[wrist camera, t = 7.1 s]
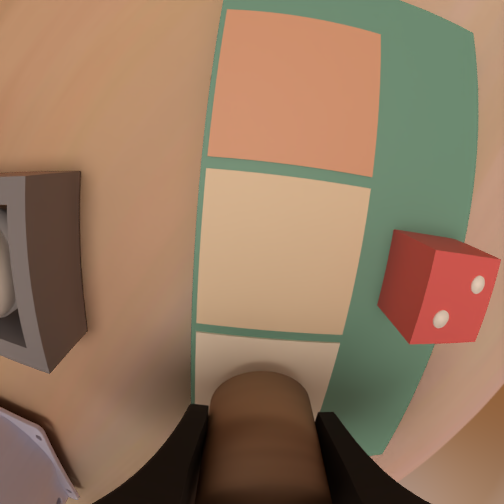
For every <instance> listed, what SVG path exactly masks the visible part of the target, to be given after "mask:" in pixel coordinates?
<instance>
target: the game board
mask: <svg viewBox="0 0 504 504" xmlns="http://www.w3.org/2000/svg"><path fill="white" fill-rule="evenodd" d="M477 140H478V80H477V64H476V53H475V44H474V36H473V33H472V32H470V31H468V30H466V29H464V28H462V27H460V26H458V25H456V24H454V23H452V22H450V21H448V20H446V19H444V18H442V17H439V16H437V15H435V14H433V13H430V12H428V11H426V10H423V9H421V8H418V7H416V6H413V5H411V4H408V3H405V2H403V1H400V0H223V6H222V11H221V17H220V23H219V29H218V35H217V41H216V48H215V54H214V61H213V68H212V75H211V82H210V90H209V98H208V106H207V114H206V122H205V131H204V140H203V150H202V160H201V171H200V182H199V193H198V206H197V220H196V234H195V251H194V270H193V292H192V323H191V404H192V403H193V404H200V405H208V406H209V408H210V402H211V398H212V395H213V393H214V392H215V390H216V389H217V388H218V387H219V386H220V385H221V384H222V383H223V382H225V381H226V380H228V379H230V378H232V377H234V376H236V375H239V374H243V373H247V372H253V371H270V372H276V373H281V374H284V375H287V376H289V377H291V378H293V379H294V380H296V381H298V382H299V383H300V384H301V385H302V386H303V387H304V388H305V390H306V391H307V393H308V396H309V399H310V403H311V408H312V412H313V416H314V421H315V420H316V417H317V414H318V412H334V413H335V414H336V415H337V417H338V418H339V419H340V421H341V422H342V424H343V425H344V426H345V428H346V429H347V430H348V431H349V433H350V434H351V435H352V437H353V438H354V439H355V440H356V442H357V443H358V444H359V445H360V446H361V448H362V449H363V450H364V451H365V452H366V453H367V454H368V456H372V455H380V454H382V453H383V452H384V450H385V448H386V447H387V445H388V443H389V441H390V440H391V438H392V436H393V434H394V432H395V430H396V429H397V427H398V425H399V423H400V421H401V419H402V417H403V415H404V413H405V411H406V409H407V407H408V405H409V403H410V401H411V399H412V397H413V395H414V393H415V390H416V388H417V386H418V384H419V382H420V379H421V377H422V375H423V372H424V370H425V368H426V365H427V363H428V360H429V358H430V355H431V353H432V350H433V347H434V345H435V344H440V343H460V342H475V340H476V338H477V335H478V332H479V330H480V327H481V324H482V322H483V319H484V316H485V313H486V310H487V307H488V304H489V301H490V298H491V294H492V291H493V288H494V284H495V281H496V277H497V273H498V269H499V265H500V261H501V259H498V258H496V257H494V256H492V255H490V254H488V253H485V252H483V251H481V250H479V249H477V248H474V247H472V246H470V245H468V244H465V243H464V241H465V236H466V231H467V226H468V220H469V214H470V208H471V201H472V194H473V187H474V178H475V168H476V156H477ZM208 414H209V410H208Z"/></svg>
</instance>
